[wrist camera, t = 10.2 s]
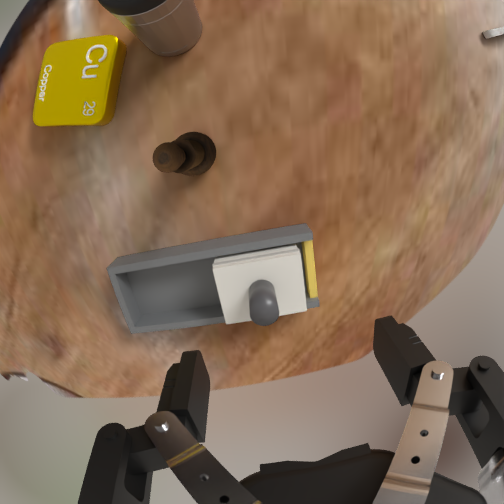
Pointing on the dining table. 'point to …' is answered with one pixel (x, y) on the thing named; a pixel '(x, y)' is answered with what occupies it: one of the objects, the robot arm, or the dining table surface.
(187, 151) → the brown wooden tall piece
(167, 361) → the dining table surface
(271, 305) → the white plate with knob
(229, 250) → the bay
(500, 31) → the wrench
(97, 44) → the element tile
